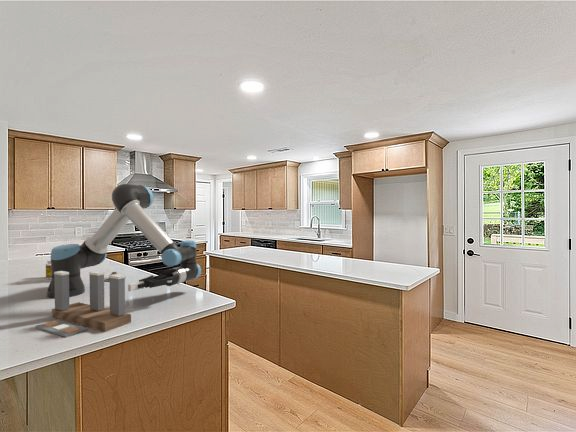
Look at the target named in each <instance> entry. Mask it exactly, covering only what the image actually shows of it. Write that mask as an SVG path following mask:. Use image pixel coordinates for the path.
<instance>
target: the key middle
mask: <svg viewBox="0 0 576 432" xmlns="http://www.w3.org/2000/svg"><path fill="white" fill-rule="evenodd" d="M88 274H89V305H90V309H92V310H96V311H100V310H103V309H104V308H105V281H104V278H105V272H104V271H98V270H94V271H89V272H88Z"/></svg>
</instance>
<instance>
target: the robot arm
mask: <svg viewBox="0 0 576 432" xmlns="http://www.w3.org/2000/svg"><path fill="white" fill-rule="evenodd" d="M111 201H112V205H114V207H115V208H114V210H113V211H112V213H110V215H109V216H108V217H107V219H106V220H105V221H104V222H103V223H102V224H101V226H100V227H99V228H98V229H97V231H96V232H94V234H93V235H92V236H89V237H87V238H85V240H84V241H83V242H82V244H81V245H80V244H78V243H67V244H61V245H58V246H55V247H53V248H52V249H51V250H50V260H51V278H50V279H51V280H50V282H49V286H48V287H47V291H46V296H47V297H49V298H54V299H55V286H54V272H57V271H65V272H69V297H73V296H78V295H81V294H84V293H85V292H86V289H85V285H84V282H83V279H82V276H81V269H82V270H83V269H85V268H90V267H96V266H98V265H100V264H102V263H103V262H105V260H106V258H107V255H108V254H107V253H108V249H109V248H108V246H109V245H110V244H111V243H112V241H114V239H115V238H116V237H117V235H118V234H120V232H121V231H122V229H124V227H125V226H126V225H127V224H128V223H129V221H130V222H131V223H132V224H133V225H134V226H135V227H136V228H137V229H138V230H139V232H141V234H142V235H143V236H144V237H145V238H146V239H147V240H148V241H149V242H150V243H151V244H152V245H153V247H154V248H155V249H156V250H157V251H158V252H159V254H161V261H162V263H163V265H166V266H167V267H173V268H168V269H165V270H164V271H163V272H162V273H161V274H158V275H156V276H154V275H150V276H147V277H145V278H141V279H139V280H138V281H135V282H133V283H128V284H127V292H134V291H137V290H142V289H144V288H146V289H147V288H149V289H151V288H157V287H162V286H166V287H171V286H174V285H180V284H181V283H184V282H188V281H193V280H195V279H198V278H199V277H200V276H201V274H202V268H201V265H199V264H198V263H197V249H198V248H197V242H196V241H195V240H182V241H181V242H180V246H178V245H177V244H176V243H175V242H174V240H172V239H171V237H169V235H168V234H167V233H166V232H165V230H163V229H162V228H161V227H160V226H159V224H157V222H156V221H155V220H154V219H153V217H151V215H150V214H149V213H148V212H147V211H146V210H145V209H146V208H150V206H152V204H153V203H154V194H153V191H152V190H151V189H150V187H148V186H146V185H142V184H131V183H121V184H119V185H117V186H116V187H115V188H114V189H113V191H112V193H111ZM179 264H180V266H178V265H179ZM174 266H177V267H174Z"/></svg>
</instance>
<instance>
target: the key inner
mask: <svg viewBox="0 0 576 432" xmlns="http://www.w3.org/2000/svg"><path fill="white" fill-rule="evenodd" d="M54 286H55V298H54V308H55V309H58V310H62V311H63V310H67V309H69V305H70V296H69V272H65V271H57V272H54Z"/></svg>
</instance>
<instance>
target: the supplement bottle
mask: <svg viewBox="0 0 576 432" xmlns="http://www.w3.org/2000/svg"><path fill="white" fill-rule="evenodd" d="M46 261H47V262H46V263H45V278H46V279H51V259H48V260H46Z"/></svg>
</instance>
